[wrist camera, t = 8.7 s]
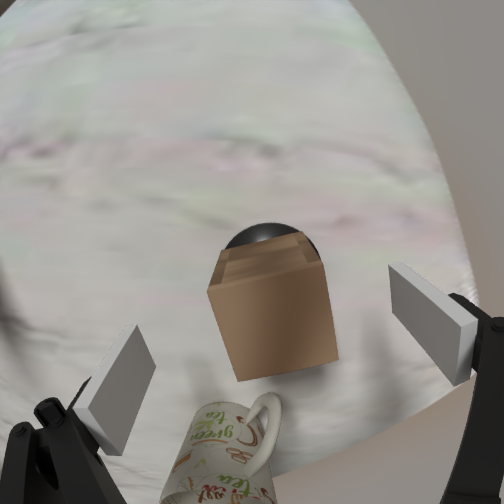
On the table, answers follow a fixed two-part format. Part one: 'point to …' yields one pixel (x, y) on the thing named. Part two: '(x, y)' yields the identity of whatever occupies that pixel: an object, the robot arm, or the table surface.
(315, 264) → the brown shipping carton
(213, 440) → the mug
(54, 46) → the table surface
